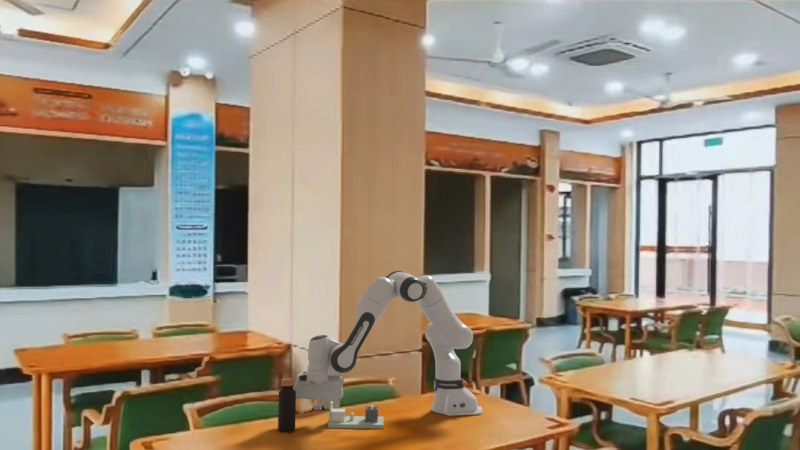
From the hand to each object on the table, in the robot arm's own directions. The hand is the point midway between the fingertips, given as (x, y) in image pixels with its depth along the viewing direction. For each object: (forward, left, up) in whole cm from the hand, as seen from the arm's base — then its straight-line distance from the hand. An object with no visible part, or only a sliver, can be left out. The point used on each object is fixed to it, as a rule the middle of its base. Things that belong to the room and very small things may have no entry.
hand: (317, 409), depth 271 cm
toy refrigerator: (-3, -27, -6) cm, 28 cm away
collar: (-22, 0, -4) cm, 22 cm away
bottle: (+11, +10, -6) cm, 16 cm away
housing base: (-16, 0, -6) cm, 17 cm away
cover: (-8, 0, -4) cm, 9 cm away
